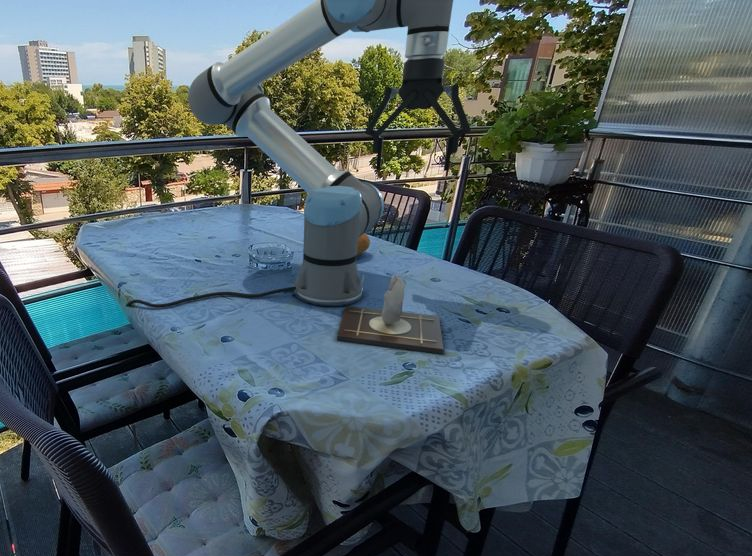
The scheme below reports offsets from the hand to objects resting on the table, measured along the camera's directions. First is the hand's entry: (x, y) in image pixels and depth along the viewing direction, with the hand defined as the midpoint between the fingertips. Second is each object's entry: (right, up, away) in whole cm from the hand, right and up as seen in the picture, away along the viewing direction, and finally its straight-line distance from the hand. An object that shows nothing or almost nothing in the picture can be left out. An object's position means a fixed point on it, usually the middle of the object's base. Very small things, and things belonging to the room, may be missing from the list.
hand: (411, 169), depth 100 cm
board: (-9, -34, -11) cm, 37 cm away
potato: (-4, -16, +32) cm, 36 cm away
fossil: (-9, -33, -11) cm, 36 cm away
